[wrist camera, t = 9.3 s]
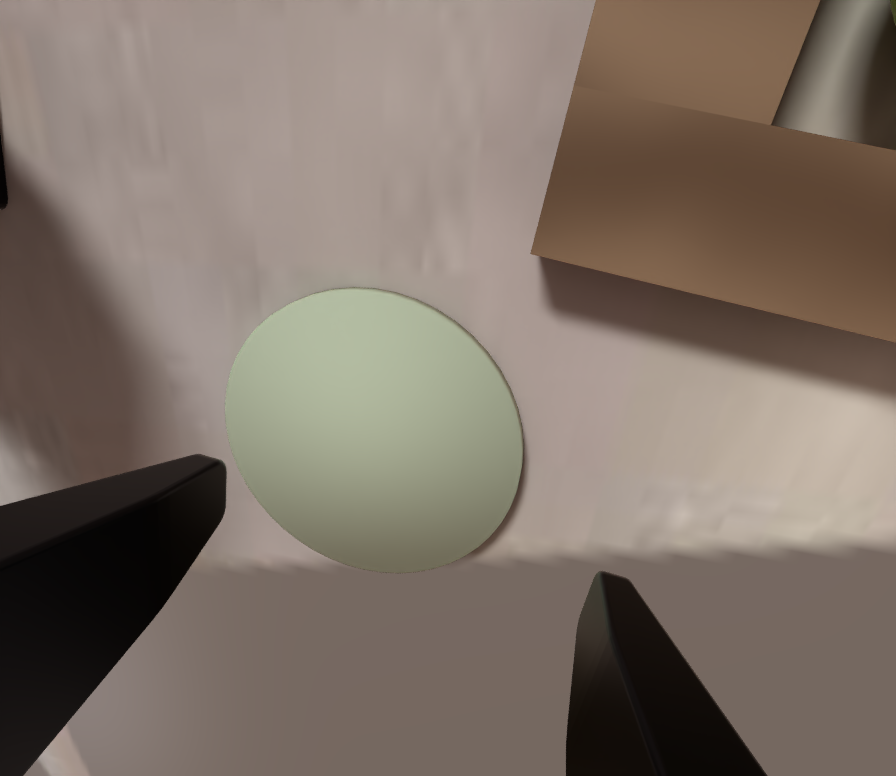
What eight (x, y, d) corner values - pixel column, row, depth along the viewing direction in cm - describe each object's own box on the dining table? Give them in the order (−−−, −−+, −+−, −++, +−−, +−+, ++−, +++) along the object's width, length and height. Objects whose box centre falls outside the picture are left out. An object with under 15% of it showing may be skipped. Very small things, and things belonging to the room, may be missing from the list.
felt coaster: (483, 598, 22) (481, 609, 21) (228, 514, 23) (220, 523, 23) (562, 335, 17) (561, 341, 17) (241, 252, 19) (230, 254, 18)
